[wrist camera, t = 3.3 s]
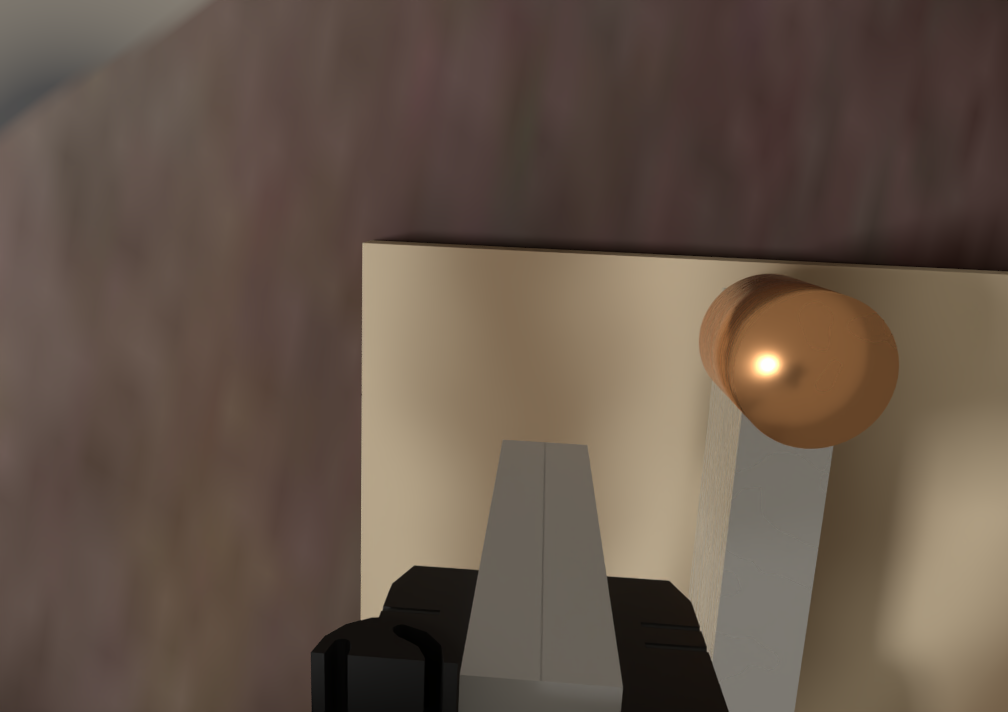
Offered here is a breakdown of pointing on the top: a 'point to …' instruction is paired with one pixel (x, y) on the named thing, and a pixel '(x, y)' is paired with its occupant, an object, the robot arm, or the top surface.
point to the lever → (775, 468)
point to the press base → (699, 444)
